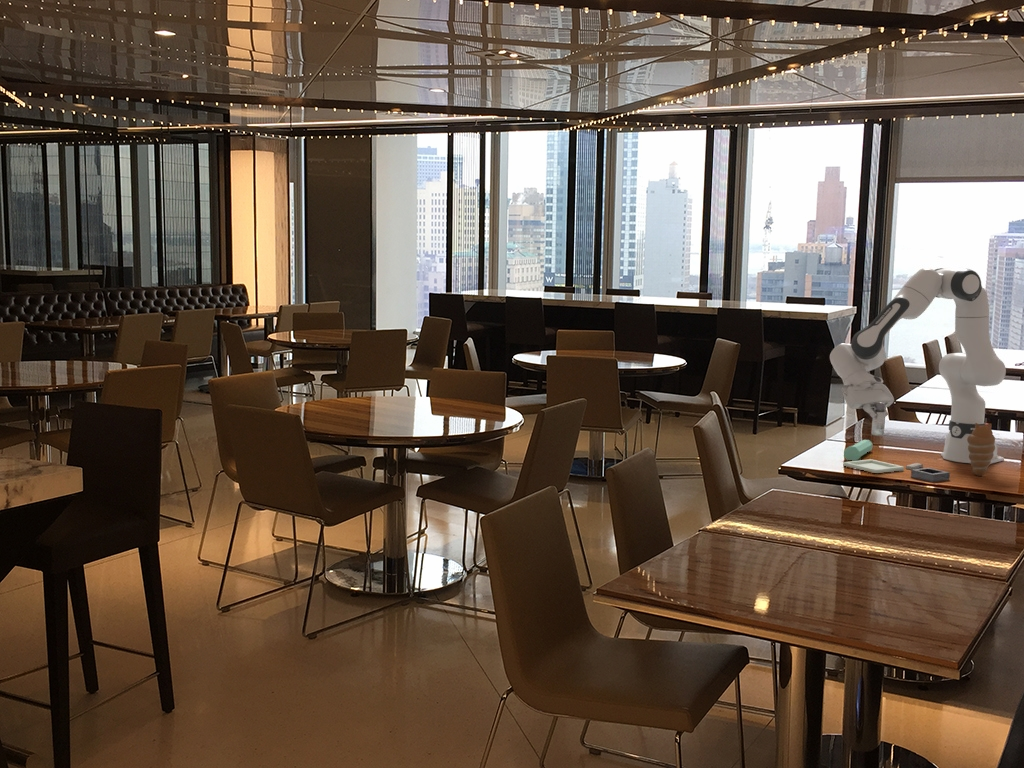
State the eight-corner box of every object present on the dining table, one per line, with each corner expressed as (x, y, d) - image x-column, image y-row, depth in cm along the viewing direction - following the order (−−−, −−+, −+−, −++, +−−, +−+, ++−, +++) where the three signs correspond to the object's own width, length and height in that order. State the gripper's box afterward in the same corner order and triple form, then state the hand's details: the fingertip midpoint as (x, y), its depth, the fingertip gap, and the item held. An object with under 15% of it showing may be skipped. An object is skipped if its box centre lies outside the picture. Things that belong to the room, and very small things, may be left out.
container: (863, 434, 369) (847, 442, 348) (877, 442, 366) (863, 450, 345) (856, 448, 371) (840, 457, 350) (870, 455, 368) (855, 465, 347)
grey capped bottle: (876, 433, 335) (879, 401, 334) (886, 435, 331) (888, 403, 330) (868, 433, 333) (871, 402, 332) (878, 435, 330) (880, 403, 328)
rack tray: (870, 463, 344) (870, 459, 344) (903, 470, 332) (903, 466, 332) (843, 466, 337) (843, 462, 337) (875, 474, 325) (876, 470, 325)
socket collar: (927, 474, 326) (927, 467, 326) (949, 479, 319) (949, 472, 319) (910, 477, 322) (911, 469, 322) (932, 482, 315) (933, 474, 315)
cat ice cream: (987, 473, 331) (991, 421, 328) (997, 478, 323) (1002, 425, 321) (960, 472, 331) (965, 421, 329) (970, 477, 323) (975, 424, 321)
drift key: (915, 467, 341) (915, 462, 341) (922, 468, 340) (922, 464, 339) (905, 470, 336) (906, 465, 336) (912, 471, 334) (913, 466, 334)
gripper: (844, 379, 331) (865, 412, 324) (884, 377, 341) (906, 409, 334) (833, 390, 335) (853, 423, 328) (873, 388, 345) (894, 420, 338)
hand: (880, 416), depth 331 cm, fingers closed on grey capped bottle, 4 cm apart
